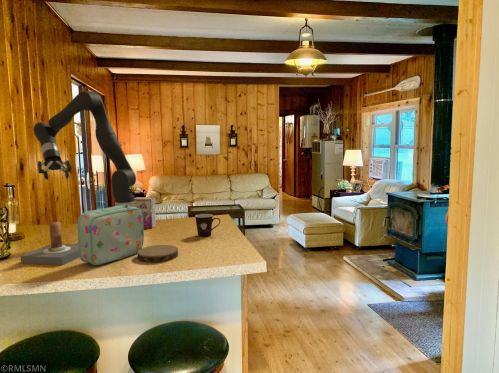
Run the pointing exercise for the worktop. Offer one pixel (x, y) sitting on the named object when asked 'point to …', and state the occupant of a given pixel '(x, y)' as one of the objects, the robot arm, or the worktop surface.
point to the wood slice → (157, 253)
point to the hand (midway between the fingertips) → (57, 178)
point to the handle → (56, 237)
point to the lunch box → (110, 234)
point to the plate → (51, 255)
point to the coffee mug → (205, 224)
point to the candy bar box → (147, 210)
